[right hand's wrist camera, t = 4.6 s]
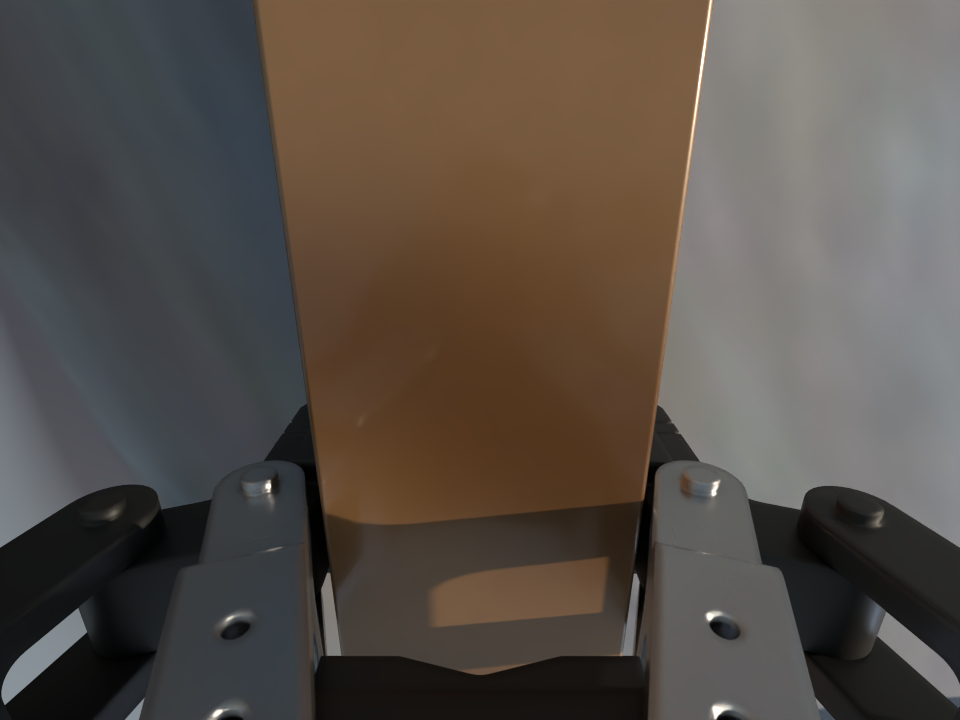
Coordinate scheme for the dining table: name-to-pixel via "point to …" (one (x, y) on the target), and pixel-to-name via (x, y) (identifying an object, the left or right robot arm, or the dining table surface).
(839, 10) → the dining table surface
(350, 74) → the post
